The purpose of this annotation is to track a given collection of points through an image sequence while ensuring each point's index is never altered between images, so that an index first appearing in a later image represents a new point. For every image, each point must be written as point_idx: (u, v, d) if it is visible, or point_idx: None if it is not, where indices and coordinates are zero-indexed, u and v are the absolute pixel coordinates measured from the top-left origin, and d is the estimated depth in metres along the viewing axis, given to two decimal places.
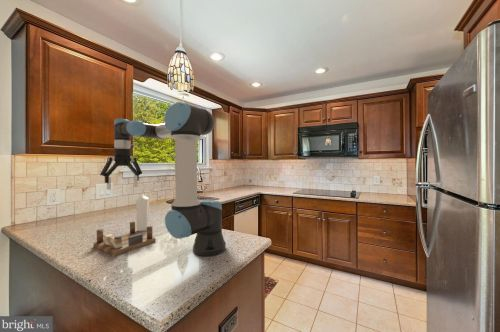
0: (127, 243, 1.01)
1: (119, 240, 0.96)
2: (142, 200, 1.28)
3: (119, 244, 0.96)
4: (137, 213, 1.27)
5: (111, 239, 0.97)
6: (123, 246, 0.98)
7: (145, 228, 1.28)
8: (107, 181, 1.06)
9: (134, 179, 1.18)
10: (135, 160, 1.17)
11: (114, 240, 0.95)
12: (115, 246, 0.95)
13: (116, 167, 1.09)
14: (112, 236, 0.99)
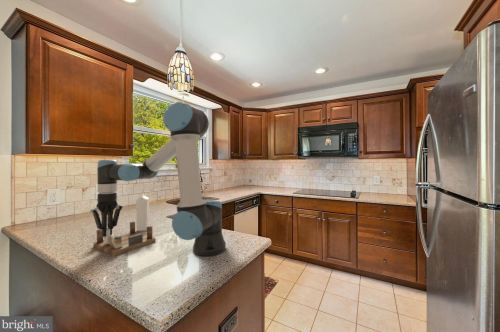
0: (127, 243, 1.01)
1: (119, 240, 0.96)
2: (142, 200, 1.28)
3: (119, 244, 0.96)
4: (137, 213, 1.27)
5: (112, 239, 0.97)
6: (123, 246, 0.98)
7: (145, 228, 1.28)
8: (105, 235, 0.97)
9: None
10: (120, 208, 1.03)
11: (114, 240, 0.96)
12: (115, 246, 0.95)
13: (106, 216, 0.98)
14: (113, 236, 0.99)
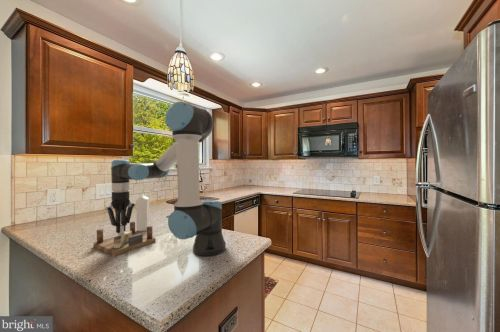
0: (127, 243, 1.01)
1: (117, 241, 0.95)
2: (142, 200, 1.28)
3: (117, 245, 0.95)
4: (137, 213, 1.27)
5: None
6: (123, 246, 0.98)
7: (145, 228, 1.28)
8: (118, 231, 1.03)
9: None
10: (132, 206, 1.08)
11: None
12: None
13: (120, 213, 1.03)
14: (123, 234, 1.01)
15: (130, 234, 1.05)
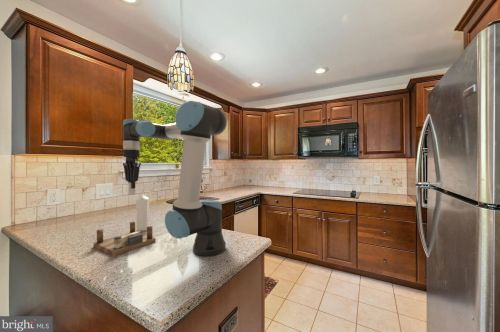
0: None
1: (115, 241, 0.95)
2: (142, 200, 1.28)
3: (115, 245, 0.95)
4: (137, 213, 1.27)
5: None
6: (123, 246, 0.98)
7: (145, 228, 1.28)
8: None
9: None
10: (134, 165, 1.06)
11: None
12: None
13: (128, 170, 1.09)
14: (127, 235, 1.01)
15: None
